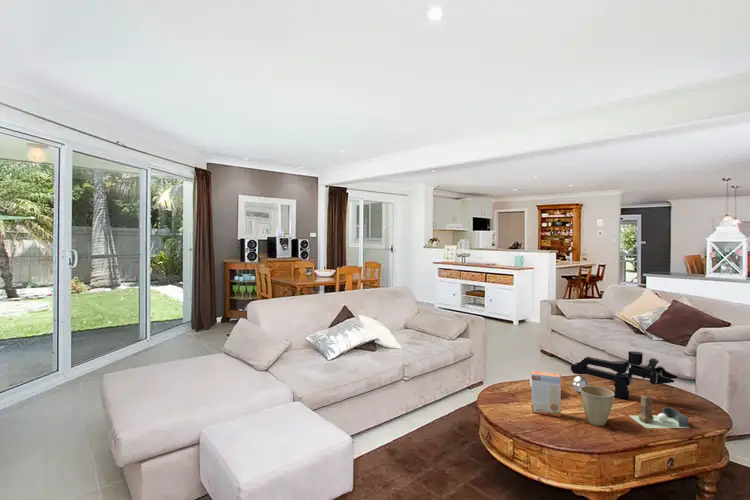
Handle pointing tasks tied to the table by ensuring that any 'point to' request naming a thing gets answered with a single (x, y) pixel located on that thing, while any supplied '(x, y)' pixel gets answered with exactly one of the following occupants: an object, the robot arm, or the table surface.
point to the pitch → (658, 422)
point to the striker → (646, 409)
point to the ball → (662, 417)
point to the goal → (676, 416)
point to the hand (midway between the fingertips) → (675, 379)
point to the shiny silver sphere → (579, 383)
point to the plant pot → (597, 404)
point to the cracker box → (546, 393)
